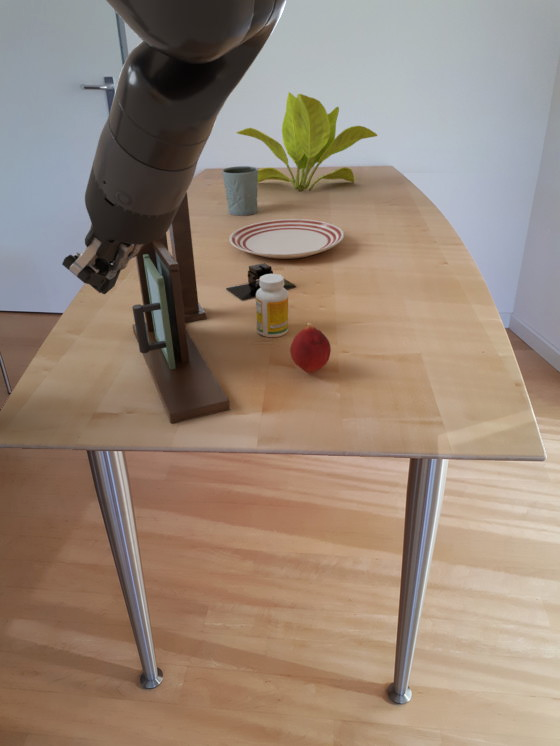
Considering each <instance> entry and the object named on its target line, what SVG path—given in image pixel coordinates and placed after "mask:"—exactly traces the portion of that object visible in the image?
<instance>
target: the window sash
mask: <svg viewBox="0 0 560 746" xmlns="http://www.w3.org/2000/svg"><path fill="white" fill-rule="evenodd" d="M143 259H144V266H145V272H146V279H147V285H148V292H149V299H150V304H147V305H143V304H134V305H133V306H132V307H131V308H132V313H133V319H134V324H135V326H136V332H137V338H138V342H137V344H138V343H139V344H138V349H139V353H141V354H142V353H148V352H149V351H151V350H156V349H161V350H162V352H163V354H164V356H165V358H166V360H167V362H168V364H169V368H170V369H175V368H176V367H175V360H174V352H173V345H172V337H171V330H170V322H169V315H168V308H167V300H166V293H165V285H164V278H163V277H162V276H161V275H160V274H159V272H158V271H157V269H156V267H155V266H154V264H153V263H152V261H151V260H150V257H149V255H148V254H144V255H143ZM148 311H151V312H152V318H153V325H154V332H155V338H156V340H157V341H158V342H154V343H149V342H148V336H147V329H146V323H145V322H146V320H145V314H144V312H148Z"/></svg>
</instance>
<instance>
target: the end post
mask: <svg viewBox="0 0 560 746" xmlns="http://www.w3.org/2000/svg"><path fill="white" fill-rule="evenodd" d="M190 217H191V216H190V209H189V198H188V191H187V192H186V194H185V196H184V198H183V200H182V202H181V204H180V206H179V209H178V211H177V213H176V215H175V217H174V219H173V221H172V223H171V225H170V227H169V229H168V231H169V239H170V247H171V255H172V257H173V258H174V259H175V261H176V262H177V263H178V268H179V276H180V285H181V293H182V302H183V310H184V318H185V324H186V323H190V322H196V321H201V320H206V319H207V312H206V311H205V310H204V308H203V306H202V305H201V304H200V303H199V296H198V288H197V275H196V266H195V261H194V260H195V257H194V249H193V247H194V246H193V237H192V228H191V218H190Z"/></svg>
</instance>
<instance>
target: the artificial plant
mask: <svg viewBox="0 0 560 746" xmlns="http://www.w3.org/2000/svg"><path fill="white" fill-rule="evenodd" d="M339 107H340V106H336V107H335V108H334V109H333V110H332V111H330V112H329V113H328V112H327V110H326V108H325V106H324V105H323V104H322V102H321V101H320V100H318V99H317V98H314V97H311V96H308V95H305V94H302V93H297V95H296V96H295V95H294V94H292V93H291V92H289V91H288V93H287V97H286V103H285V112H284V117H283V120H282V124H281V135H282V144H281V143H280V142H279V141H278V140H275V139H274V138H273V137H271V136H269V135H268V134H265V133H264V132H262V131H260V130H258V129H256V128H253V127H247V128H246V127H245V128H244V129H242V130H238V131H236V134H238V135H241V136H247V137H251V138H255V139H257V140H258V141H260V142H262V143H263V144H265V146H266V147H267V148H268V149H269V150H270V151H271V152H272V154H273V155H274V156H275V157H276V158H277V159H278V160H280V161H281V162H283V163H284V165H285V166H286V168H287V170H288V172H289V174H290V176H291V178H289V177H288V176H287V175H286V174H284V173H283V172H282V171H280V170H278V169H276V168H274V167H263V168H260V169H258V183H261V182H264V181H266V180H267V181H268V180H269V181H270V180H275V181H283V182H287V183H292V185H293V189H294V190H295V191H298V192H302V191H304V190H308V191H312V190H313V188H314V187H315V185H316V184H317V183H319V182H320V181H321V180H323V179H324V180H344V181H347V182H350V183H355V175H354V172H353V170H352V169H351V168H350V167H347V166H345V167H341V168H337V169H335V170H334V171H331V172H330V173H326V174H324V175H321V176H320V177H318V178H317V180H315V181H314V182H313V183H312V185H311V186H310V184H311V181H312V178H313V176H314V174H315V173H316V171H317V169H318V168H319V167H320V165H322V163H323V162H324V161H326V160H327V159H329V158H330V157H331V156H332V155H334V154H337V153H340V152H343V151H345V150H347V149H348V148H350V147H352V146H353V145H355V144H356V143H358V142H359V141H362V139H363V140H364V139H369V138H374V137H375V138H376V137H378V133H376V132H374V131H373V130H371V129H370V128H367V127H366V126H362V125H353V126H350V127H347V128H344V129H343V130H342V131H341V132H340V133H339V134H337V133H336V131H337V121H338V117H339V112H340V108H339ZM336 134H337V136H336ZM282 145H283V146H284V148H283V146H282ZM287 155H288V156H289V157H290V158H291V160H292V162H293V163H294V164H295V165H296V176H294V174H293V172H292V169H291V167H290V165H289V158H288V156H287ZM312 168H314V169H313V170H312V172H310V171H311V169H312ZM300 170H301V173H300ZM300 174H301V176H300ZM309 174H310V175H309ZM308 175H309V176H308Z"/></svg>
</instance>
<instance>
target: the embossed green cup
mask: <svg viewBox="0 0 560 746" xmlns="http://www.w3.org/2000/svg"><path fill="white" fill-rule="evenodd" d="M258 170H259V169H258V168H257V167H256V166H250V165H249V166H248V165H239V166H230V167H226V168H224V169H222V171H221V173H222V179H223V185H224V188H225V197H226V201H227V202H226V203H227V204H226V205H227V212H228V214H230V215H232V216H241V217H243V216H251V215H255V214H256V213H257V212H258Z"/></svg>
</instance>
